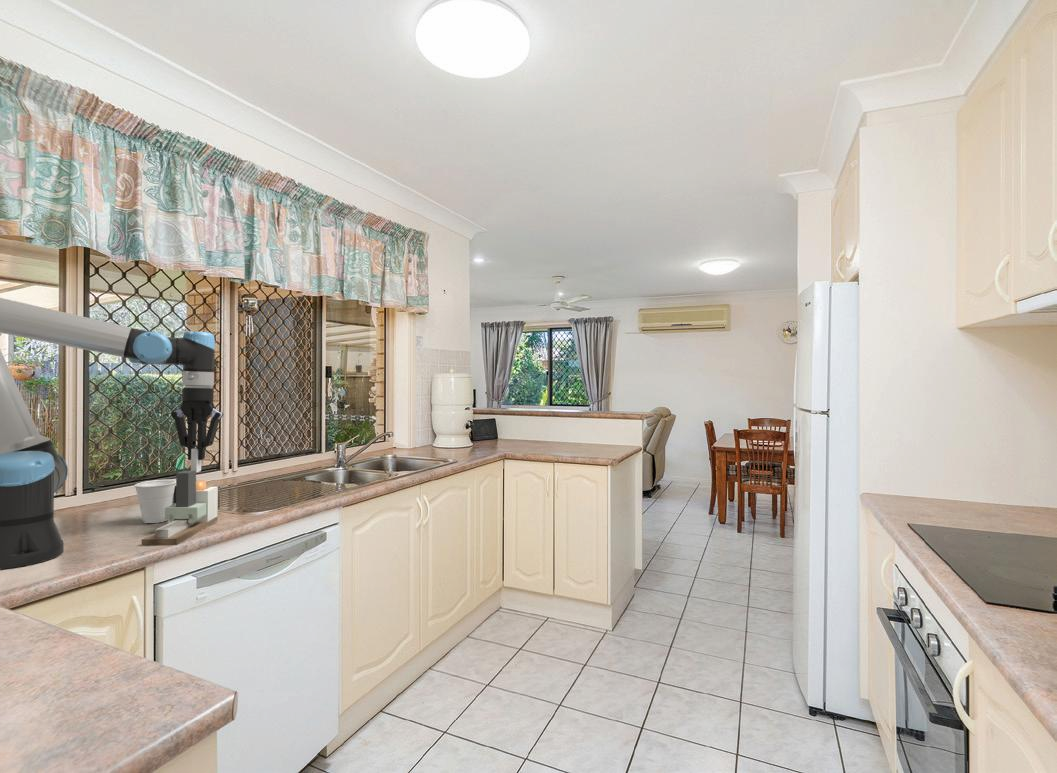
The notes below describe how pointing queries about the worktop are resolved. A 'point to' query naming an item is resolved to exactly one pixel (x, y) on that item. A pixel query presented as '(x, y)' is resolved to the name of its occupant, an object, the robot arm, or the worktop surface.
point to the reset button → (200, 485)
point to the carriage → (186, 499)
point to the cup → (155, 499)
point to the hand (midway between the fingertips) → (195, 471)
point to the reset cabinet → (208, 502)
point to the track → (179, 535)
